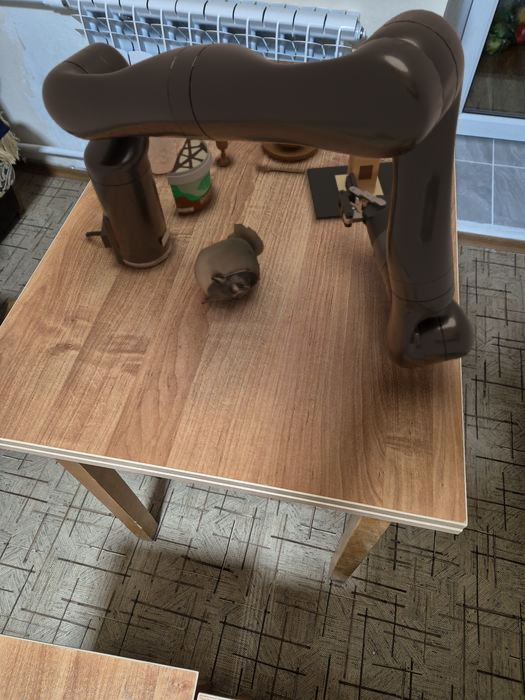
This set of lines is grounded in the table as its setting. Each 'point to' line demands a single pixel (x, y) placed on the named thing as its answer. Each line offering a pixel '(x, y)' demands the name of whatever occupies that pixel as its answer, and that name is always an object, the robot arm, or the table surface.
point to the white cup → (162, 154)
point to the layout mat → (341, 187)
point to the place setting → (274, 150)
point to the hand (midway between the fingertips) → (376, 174)
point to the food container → (191, 177)
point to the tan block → (364, 172)
